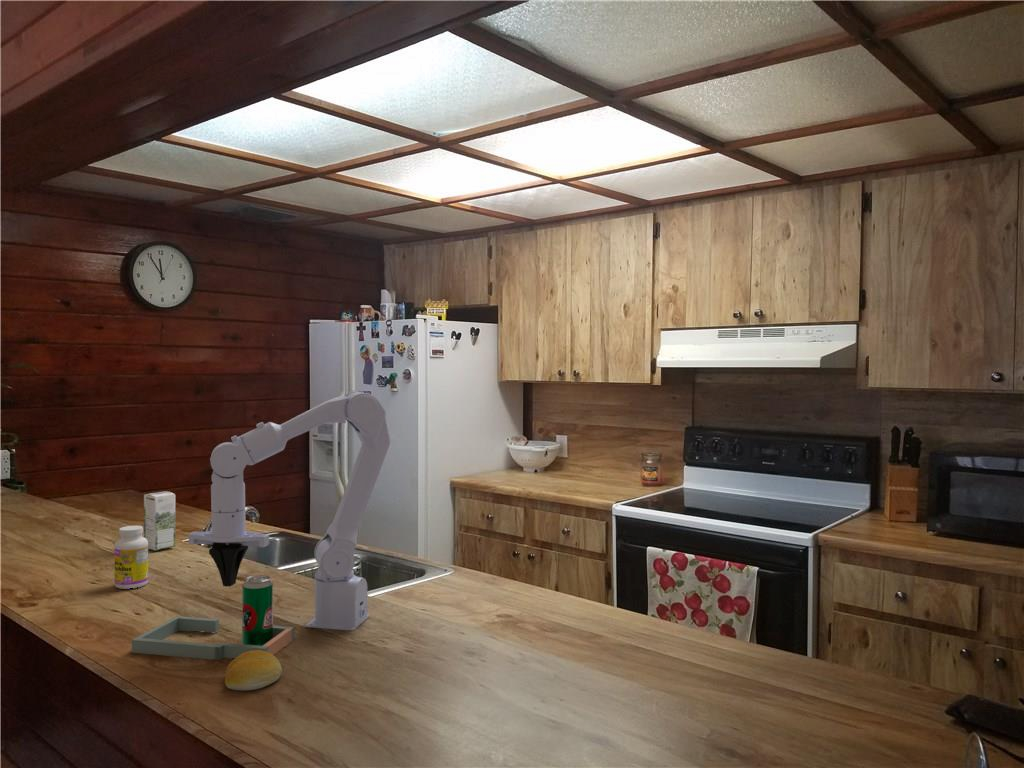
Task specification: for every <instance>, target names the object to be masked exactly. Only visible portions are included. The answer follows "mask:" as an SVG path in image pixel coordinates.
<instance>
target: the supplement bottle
mask: <svg viewBox="0 0 1024 768" xmlns="http://www.w3.org/2000/svg"><path fill="white" fill-rule="evenodd" d="M118 530H119V531H118V535H119V536H120V539H118V540H116V541H115V543H114V547H113V548H114V549H113V550H114V586H115V587H116V588H118V589H120V590H131V589H130V588H133V589H138V588H142V587H144V586H146V585H147V584H148V582H149V549H148V541H147V539H146V538H144V536H143V535H144V526H142V525H127V526H122V527H120V528H118ZM137 587H138V588H137Z"/></svg>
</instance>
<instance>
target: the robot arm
mask: <svg viewBox="0 0 1024 768" xmlns="http://www.w3.org/2000/svg"><path fill="white" fill-rule="evenodd" d="M386 419H387V418H386V411H385V408H384V407H383V405H382V404H381V402H380V400H379V399H378V398H377V397H376V396H375V395H373V394H371V393H367V392H362V391H359V390H355V391H354V390H353V391H350V392H348V393H347V394H345V395H339V396H337V397H333V398H332V399H329V400H325V401H324V402H322V403H320V404H318V405H316V406H314V407H312V408H311V409H309V410H306V411H304V412H302V413H300V414H298V415H296V416H295V417H292V418H291V419H290V420H287V421H285V422H283V423H280V424H277V423H275V422H272V421H268V422H266V423H264V422H263V421H261V422H259V423H256V428H254V429H251V430H250V431H247V432H246V433H243V434H241V435H239V436H237V435H233V436H231V441H232V442H231V441H229V442H228V441H227V442H222V443H220V444H218V445H216V447H214V448H213V450H212V452H211V456H210V458H209V461H210V462H209V463H210V467H211V469H212V470H213V471H212V474H211V482H212V483H211V485H210V498H211V499H210V501H211V502H210V503H211V505H210V506H211V507H210V508H211V509H210V510H211V511H210V512H211V531H208V530H207V531H193V532H190V533H188V545H193V546H194V545H196V544H197V545H212V546H211V548H209V549H208V554H209V555H210V557H211V559H212V560H213V561H214V563H215V565H216V567H217V570H218V572H219V576H220V580H221V583H222V587H229V588H230V587H232V586H234V585H236V583H237V578H238V574H239V570H240V566H241V564H242V562H243V558H244V557H245V555H246V553H247V551H248V549H249V547H259V548H265V547H267V546H269V545H270V534H269V533H258V532H252V531H247V529H246V524H247V523H246V522H247V521H246V484H245V482H244V470H245V468H246V466H253V465H256V464H258V463H260V462H262V461H264V460H266V459H268V458H270V457H272V456H274V455H277V454H279V453H280V452H282V451H284V450H285V448H286V445H287V442H288V441H289V440H291V439H293V438H295V437H297V436H300V435H303V434H305V433H307V432H309V431H311V430H314V429H316V428H318V427H321V426H322V425H325V424H327V423H336V424H346V423H348V424H349V425H350V426H351V427H352V428H353V429H354V431H355V432H356V434H357V436H358V439H359V440H360V443H361V446H360V448H359V451H358V454H357V457H356V459H355V463H354V465H353V468H352V470H351V472H350V474H349V477H348V480H347V483H346V487H345V489H344V492H343V494H342V496H341V500H340V502H339V505H338V507H337V510H336V513H335V515H334V518H333V521H332V522H331V523H330V525H329V526H328V527H327V529H326V532H325V534H324V536H323V537H322V538H321V539H320V540H319V541H318V542H317V544H315V547H314V551H313V552H314V553H313V554H314V555H313V556H314V559H315V561H316V563H317V565H319V566H318V569H317V571H315V573H314V618H313V619H311V620H310V621H308V622H307V623H306V624H305V627H306V628H311V629H313V628H314V629H324V630H325V629H326V630H335V631H336V630H337V631H350V632H353V631H354V630H356V629H357V628H358V627H359V626H360V625H361V624H362V623H364V622H365V621H366V620H368V619H369V617H370V615H369V613H368V610H369V609H368V582H367V580H366V578H364V577H360V576H357V575H355V574H354V570H353V569H354V567H355V564H356V563H355V550H356V547H357V543H358V531H359V528H360V526H361V522H362V520H363V518H364V514H365V512H366V509H367V507H368V504H369V501H370V499H371V495H372V493H373V490H374V488H375V485H376V483H377V479H378V477H379V475H380V471H381V469H382V466H383V463H384V461H385V458H386V456H387V452H388V450H389V448H390V443H391V439H390V435H389V429H388V425H387V420H386Z"/></svg>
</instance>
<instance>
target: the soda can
mask: <svg viewBox="0 0 1024 768" xmlns="http://www.w3.org/2000/svg"><path fill="white" fill-rule="evenodd" d="M271 579H272V577H271V576H270V575H264V574H258V575H252V576H247V577H246V578H244V580H243V581H244V583H243V584H242V586H241V587H242V588H241V592H242V593H241V644H246V645H258V646H263V645H264V644H266V643H267V642H269V641H270V640H271V639H273V626H274V583H273V581H272V580H271Z"/></svg>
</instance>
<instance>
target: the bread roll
mask: <svg viewBox="0 0 1024 768" xmlns="http://www.w3.org/2000/svg"><path fill="white" fill-rule="evenodd" d="M225 669H226V670H225V678H224V684H225V686H226V688H228V689H230V690H234V691H242V692H243V691H245V692H247V691H255V690H259V689H262V688H265V687H266V686H267V687H268V686H269V685H271V684H273V683H275V682H276V681H278V680H279V678H280V677H281V674H282V672H283V668H282V666H281V662H280V661H279V659H278V658H277V657H276V656H275V654H274V655H273V654H271V653H269V652H266V651H262V650H254V651H248V652H245V653H242V654H241V655H239V656H237V657H236V658H235V659H233V660H231V661H230V662H229V663H228V665H227V667H226V668H225Z"/></svg>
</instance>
